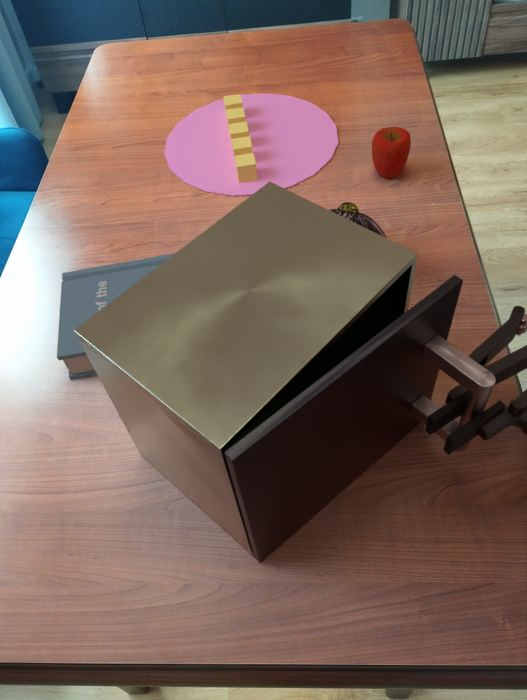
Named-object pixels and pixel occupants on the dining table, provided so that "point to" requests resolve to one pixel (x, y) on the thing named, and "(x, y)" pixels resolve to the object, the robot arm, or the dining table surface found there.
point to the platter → (251, 143)
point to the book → (93, 304)
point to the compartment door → (351, 420)
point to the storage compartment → (241, 334)
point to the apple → (390, 151)
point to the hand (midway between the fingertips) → (438, 435)
